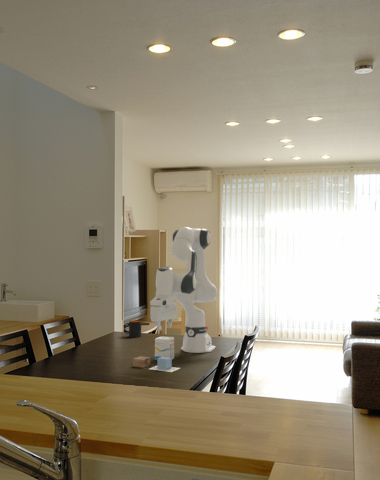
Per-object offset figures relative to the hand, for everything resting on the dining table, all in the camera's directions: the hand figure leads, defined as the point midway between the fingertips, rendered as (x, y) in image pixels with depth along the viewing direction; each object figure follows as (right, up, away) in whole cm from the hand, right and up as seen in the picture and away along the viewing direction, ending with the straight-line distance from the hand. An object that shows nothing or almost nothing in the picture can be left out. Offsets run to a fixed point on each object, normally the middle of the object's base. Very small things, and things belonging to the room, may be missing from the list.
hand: (164, 329), depth 235 cm
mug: (-27, -23, +96) cm, 102 cm away
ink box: (-1, -20, +21) cm, 29 cm away
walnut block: (-11, -19, +4) cm, 23 cm away
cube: (0, -19, -1) cm, 19 cm away
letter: (0, -19, -2) cm, 19 cm away
